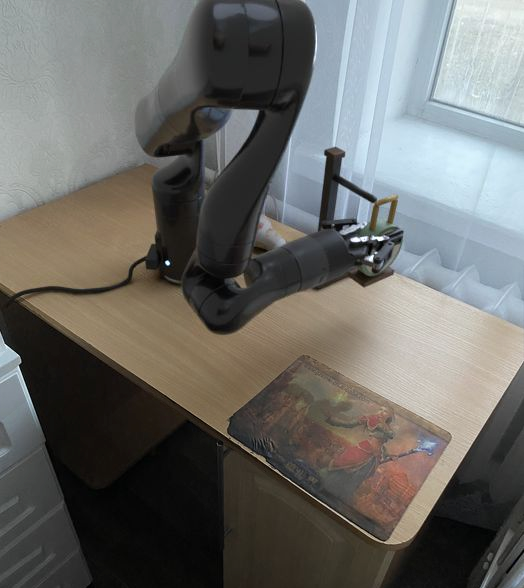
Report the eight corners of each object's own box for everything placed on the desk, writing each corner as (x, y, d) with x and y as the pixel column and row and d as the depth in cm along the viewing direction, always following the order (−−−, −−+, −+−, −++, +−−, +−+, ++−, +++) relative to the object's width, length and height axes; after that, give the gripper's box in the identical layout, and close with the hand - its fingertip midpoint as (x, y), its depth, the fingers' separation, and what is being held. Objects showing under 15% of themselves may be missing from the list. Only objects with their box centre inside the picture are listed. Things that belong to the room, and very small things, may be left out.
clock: (359, 290, 88) (374, 211, 78) (343, 278, 90) (356, 200, 81) (397, 273, 92) (416, 196, 82) (381, 262, 94) (397, 185, 85)
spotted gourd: (276, 265, 109) (253, 223, 104) (248, 263, 117) (225, 225, 112) (299, 243, 112) (277, 202, 107) (270, 243, 120) (249, 205, 115)
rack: (376, 288, 104) (402, 167, 88) (338, 306, 100) (358, 182, 83) (323, 250, 114) (337, 134, 97) (285, 265, 109) (294, 146, 92)
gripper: (346, 262, 73) (431, 227, 80) (283, 218, 81) (366, 190, 89) (338, 306, 78) (419, 269, 86) (280, 260, 86) (359, 230, 94)
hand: (392, 229), depth 87 cm, fingers closed on clock, 3 cm apart
